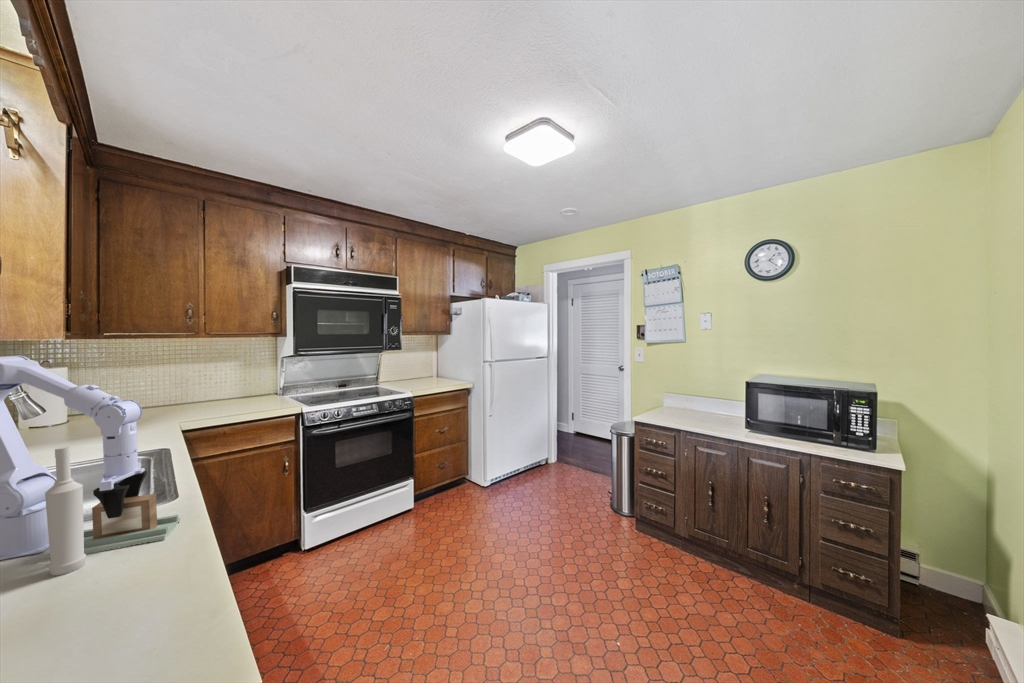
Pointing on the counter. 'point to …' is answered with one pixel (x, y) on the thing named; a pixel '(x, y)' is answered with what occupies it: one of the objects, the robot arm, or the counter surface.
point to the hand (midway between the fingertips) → (122, 510)
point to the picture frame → (126, 517)
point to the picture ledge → (130, 536)
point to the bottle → (65, 518)
